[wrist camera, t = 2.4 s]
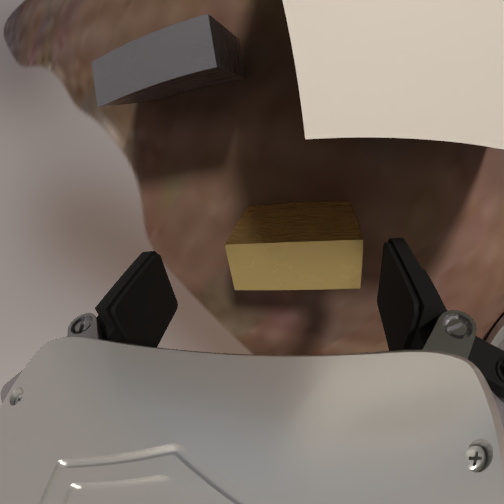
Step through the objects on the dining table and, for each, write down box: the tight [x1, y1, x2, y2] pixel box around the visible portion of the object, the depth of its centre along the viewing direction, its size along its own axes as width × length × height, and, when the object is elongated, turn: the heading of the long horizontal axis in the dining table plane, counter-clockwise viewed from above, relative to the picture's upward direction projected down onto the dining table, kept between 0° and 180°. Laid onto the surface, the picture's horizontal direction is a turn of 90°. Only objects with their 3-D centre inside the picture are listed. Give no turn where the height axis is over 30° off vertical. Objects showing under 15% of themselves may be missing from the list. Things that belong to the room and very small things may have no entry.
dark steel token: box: [92, 14, 245, 107], centre depth 11 cm, size 2×6×5 cm, turn 98°
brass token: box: [225, 201, 363, 290], centre depth 14 cm, size 2×6×5 cm, turn 98°
